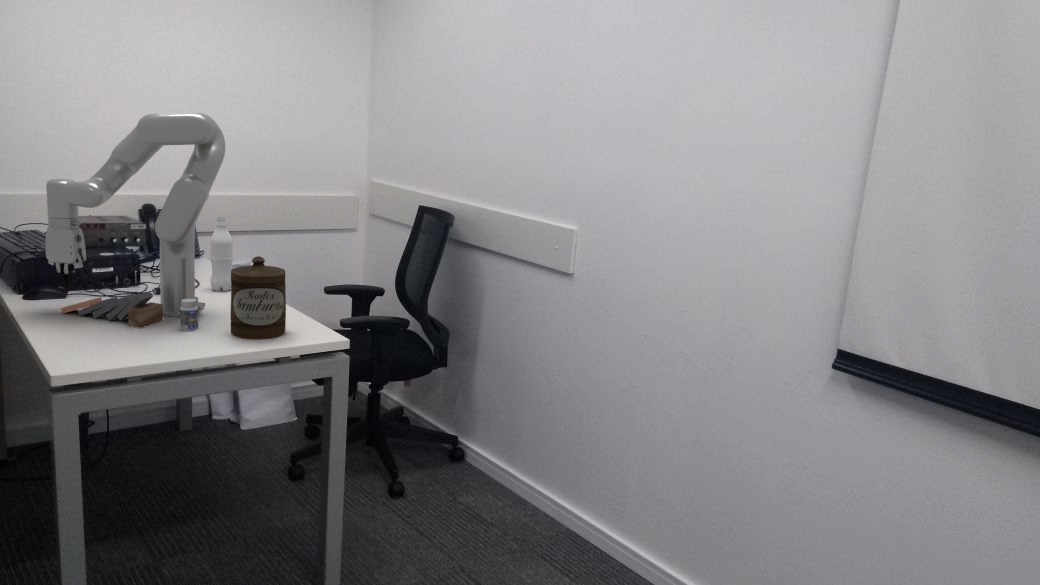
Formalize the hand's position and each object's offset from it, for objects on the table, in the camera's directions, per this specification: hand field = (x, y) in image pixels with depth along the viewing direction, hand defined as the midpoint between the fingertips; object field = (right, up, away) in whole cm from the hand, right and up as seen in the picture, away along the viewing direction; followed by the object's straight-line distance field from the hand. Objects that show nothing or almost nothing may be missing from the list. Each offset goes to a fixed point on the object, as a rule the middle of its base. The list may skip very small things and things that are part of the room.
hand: (66, 285), depth 224 cm
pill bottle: (+38, -12, -6) cm, 40 cm away
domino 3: (+10, -8, -1) cm, 13 cm away
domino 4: (+15, -9, -2) cm, 17 cm away
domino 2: (+5, -7, 0) cm, 9 cm away
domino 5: (+18, -9, -3) cm, 20 cm away
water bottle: (+29, -1, +41) cm, 51 cm away
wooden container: (+57, -14, -4) cm, 58 cm away
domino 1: (0, -7, +1) cm, 7 cm away
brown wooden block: (+25, -11, -4) cm, 27 cm away
